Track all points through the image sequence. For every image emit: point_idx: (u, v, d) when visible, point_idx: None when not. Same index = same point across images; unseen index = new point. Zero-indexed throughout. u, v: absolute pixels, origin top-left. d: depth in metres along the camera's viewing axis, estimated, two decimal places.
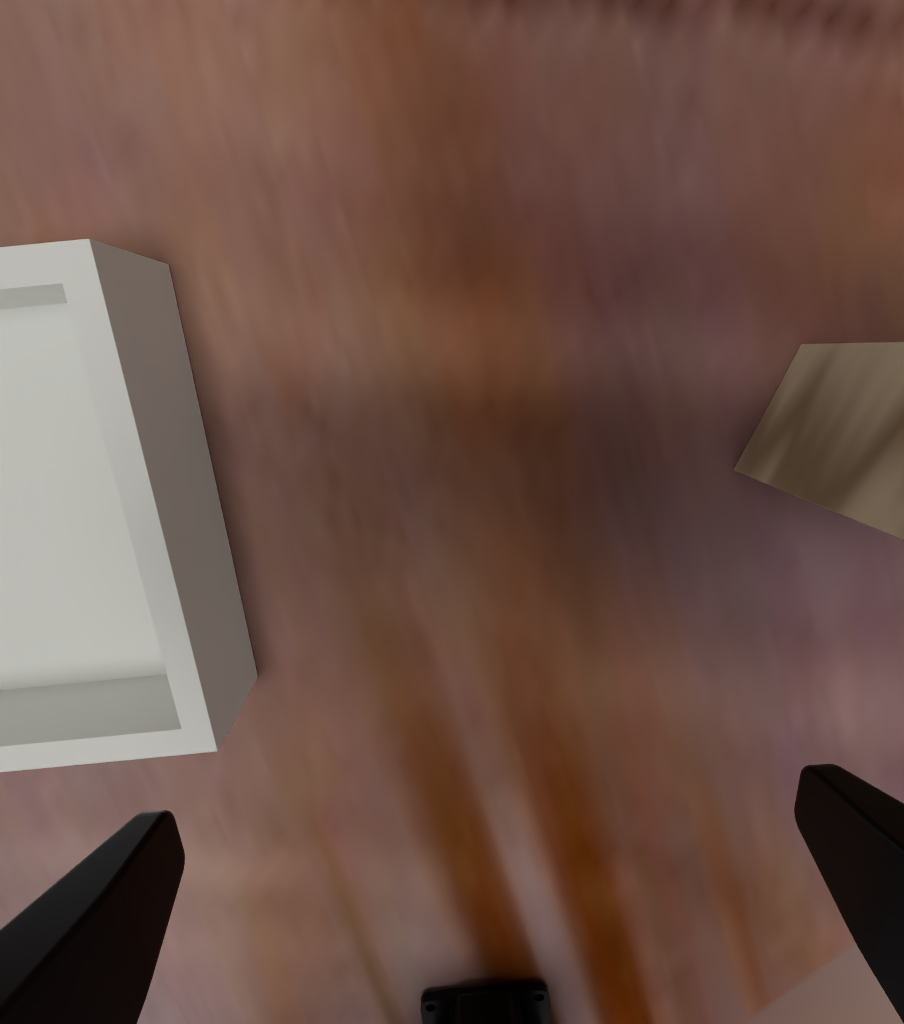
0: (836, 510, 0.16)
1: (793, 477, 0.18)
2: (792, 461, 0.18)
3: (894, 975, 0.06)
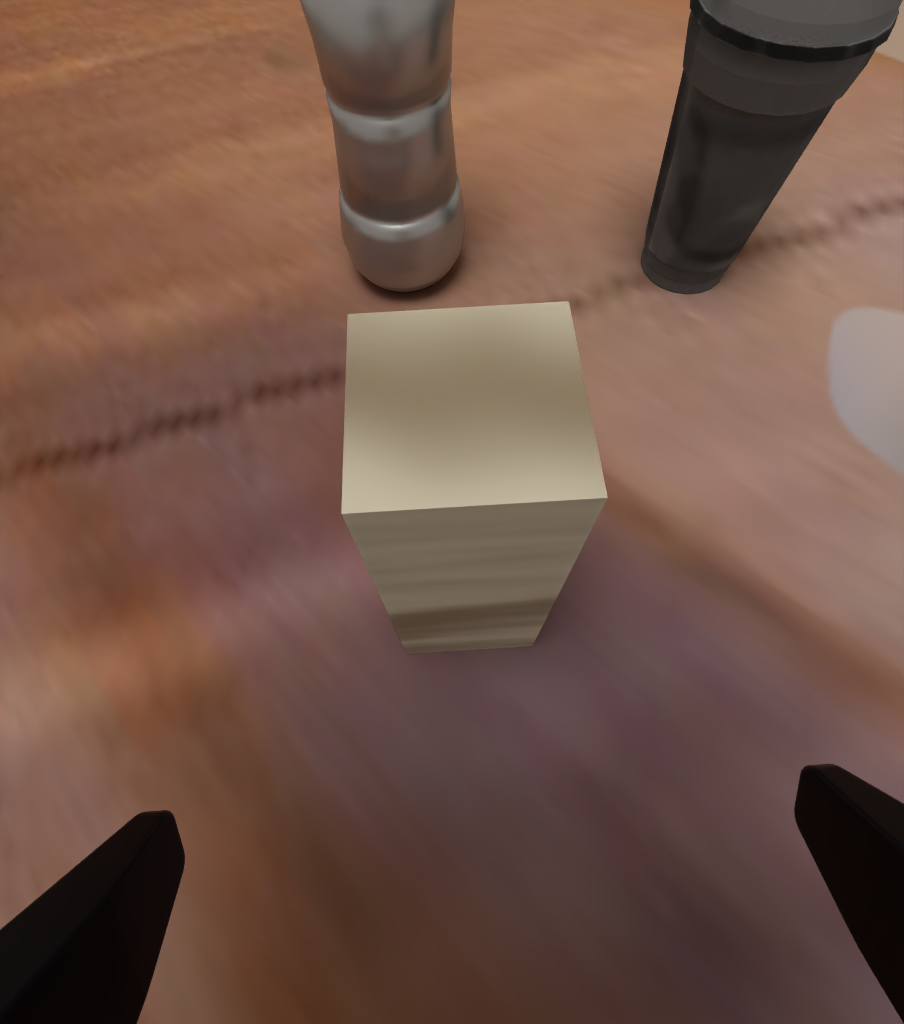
0: (388, 614, 0.17)
1: None
2: None
3: (894, 975, 0.06)
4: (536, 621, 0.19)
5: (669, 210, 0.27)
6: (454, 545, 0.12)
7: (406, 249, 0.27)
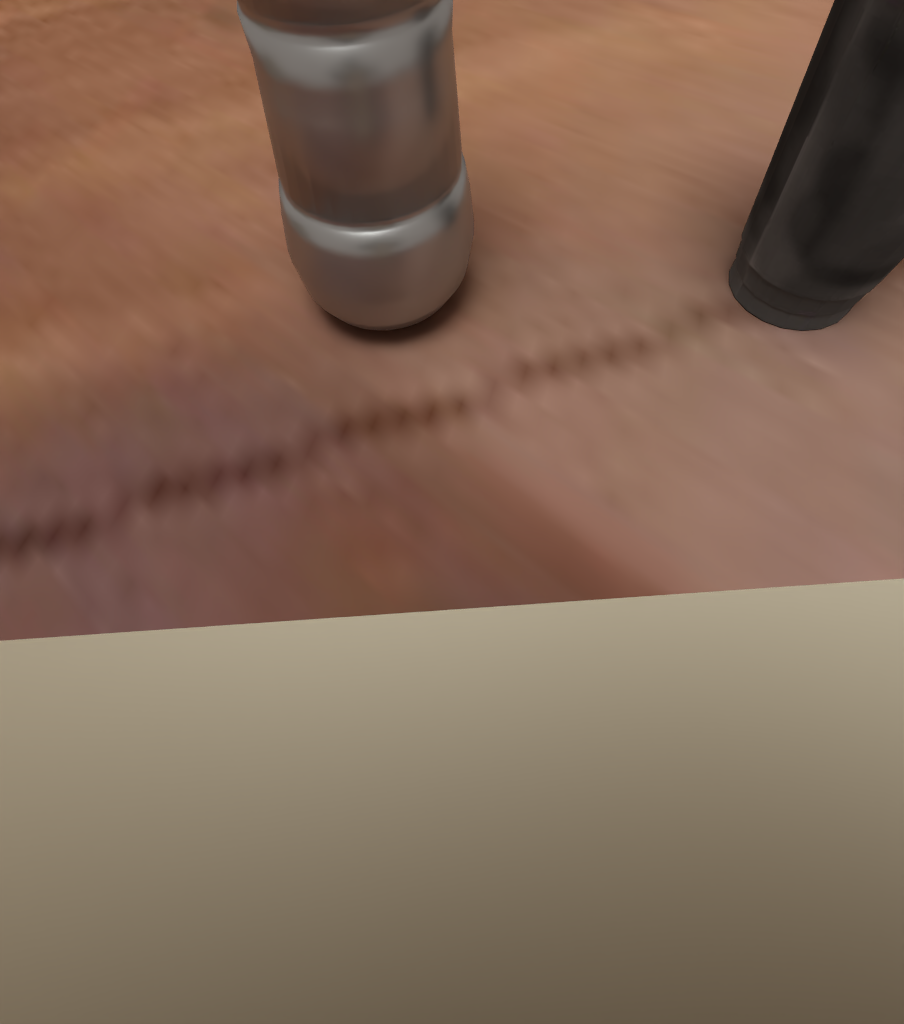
0: None
1: None
2: None
3: None
4: None
5: (798, 205, 0.17)
6: None
7: (383, 268, 0.17)
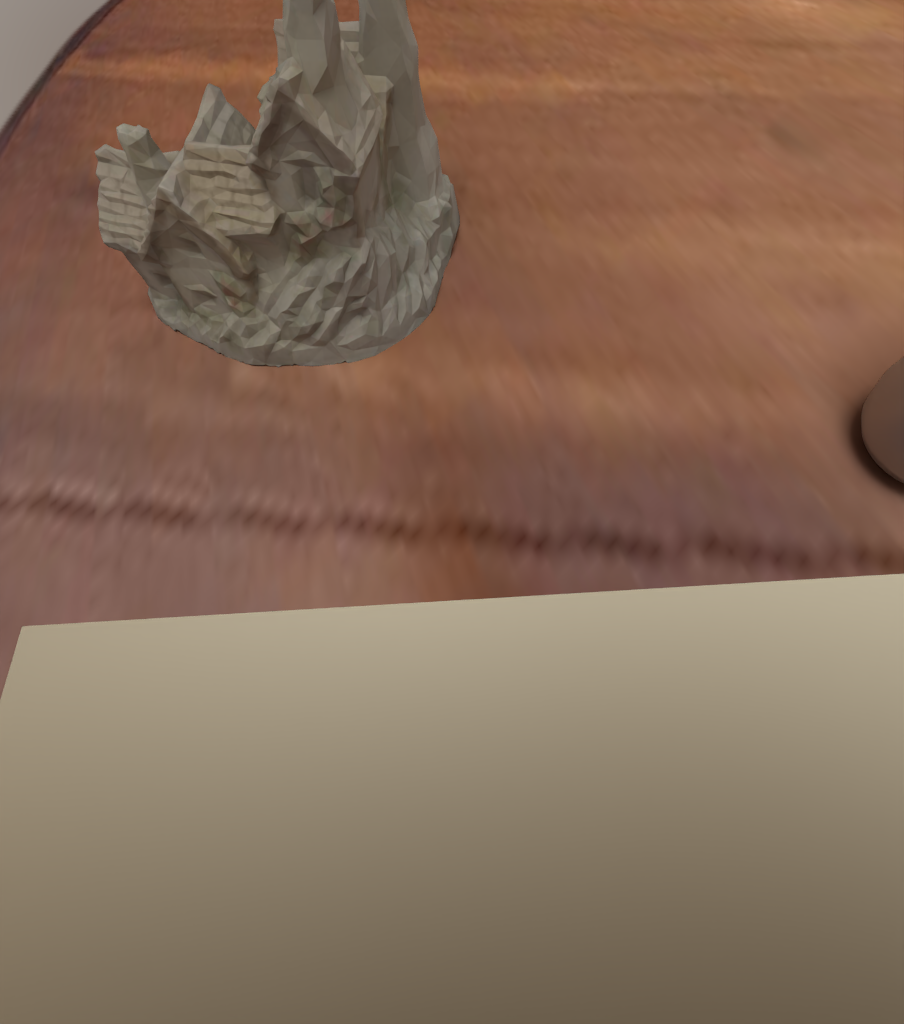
0: None
1: None
2: None
3: None
4: None
5: None
6: None
7: None
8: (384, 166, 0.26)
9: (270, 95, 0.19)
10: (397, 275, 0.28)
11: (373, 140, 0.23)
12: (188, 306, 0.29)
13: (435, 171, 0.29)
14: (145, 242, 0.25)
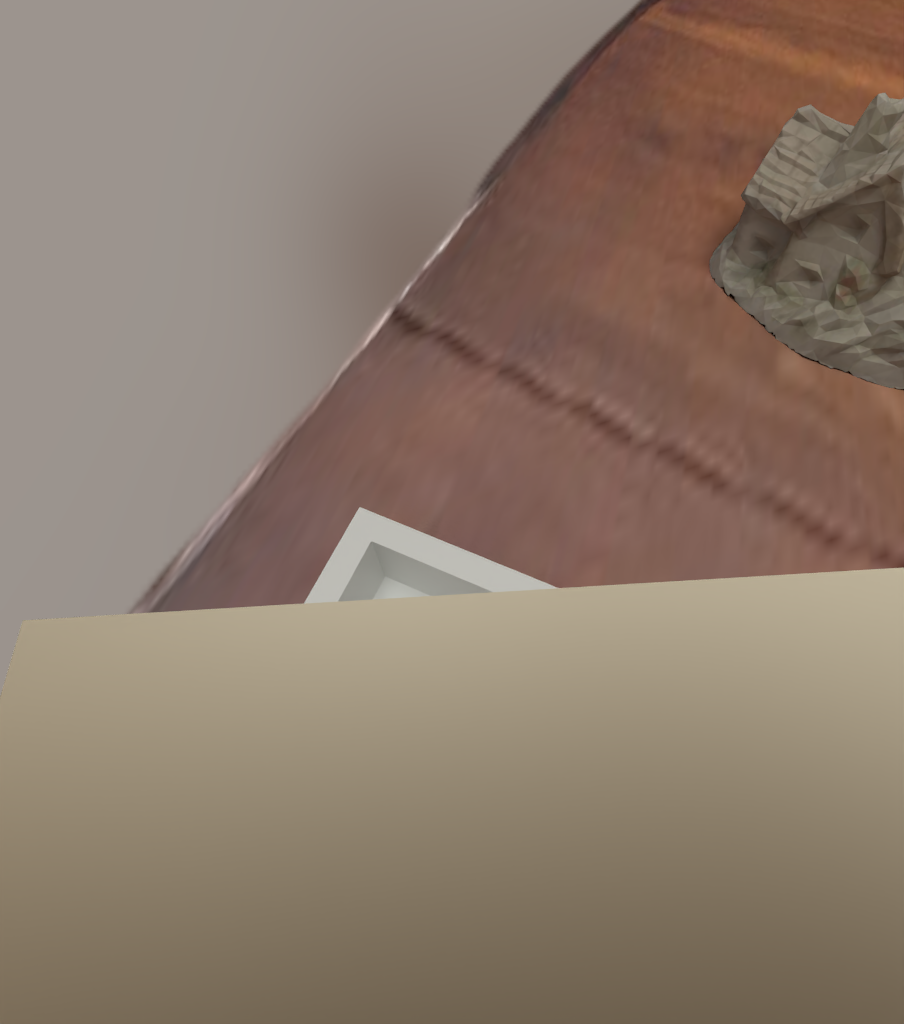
0: None
1: None
2: None
3: None
4: None
5: None
6: None
7: None
8: None
9: None
10: None
11: None
12: (768, 278, 0.29)
13: None
14: (814, 209, 0.25)
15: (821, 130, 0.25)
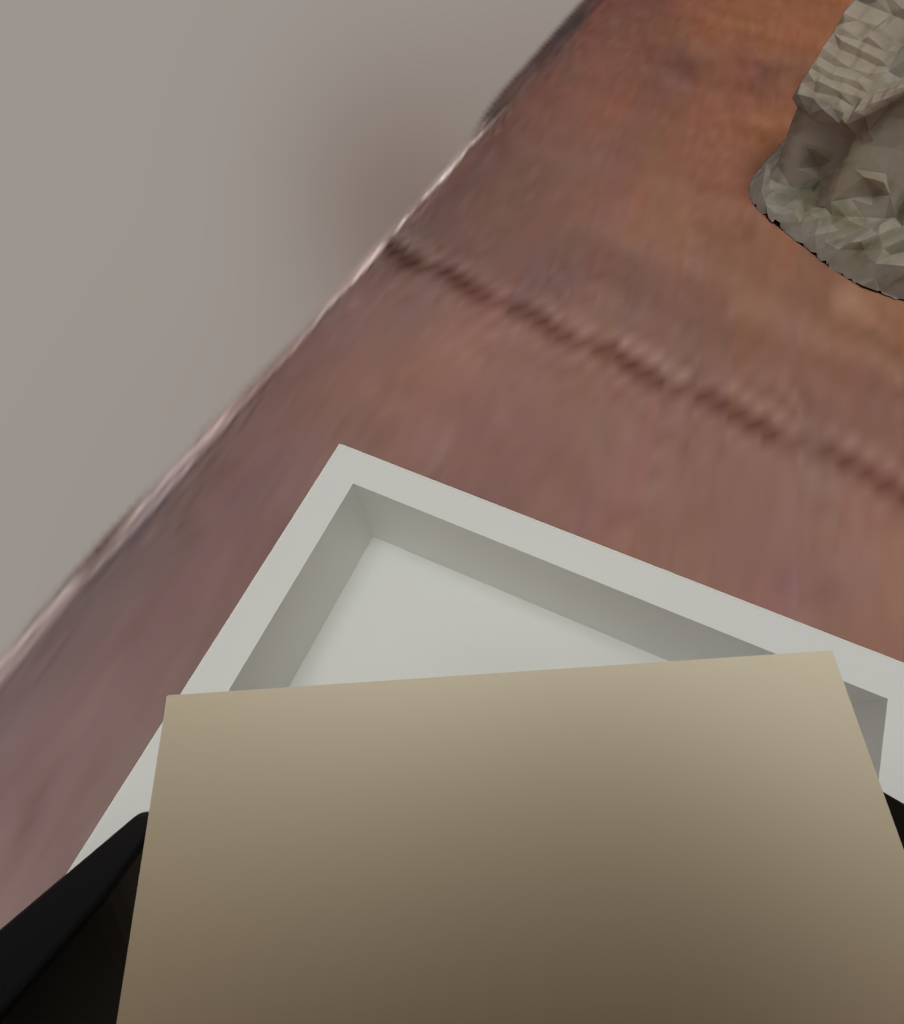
0: None
1: None
2: None
3: None
4: None
5: None
6: None
7: None
8: None
9: None
10: None
11: None
12: (820, 198, 0.25)
13: None
14: (885, 100, 0.21)
15: (891, 10, 0.21)
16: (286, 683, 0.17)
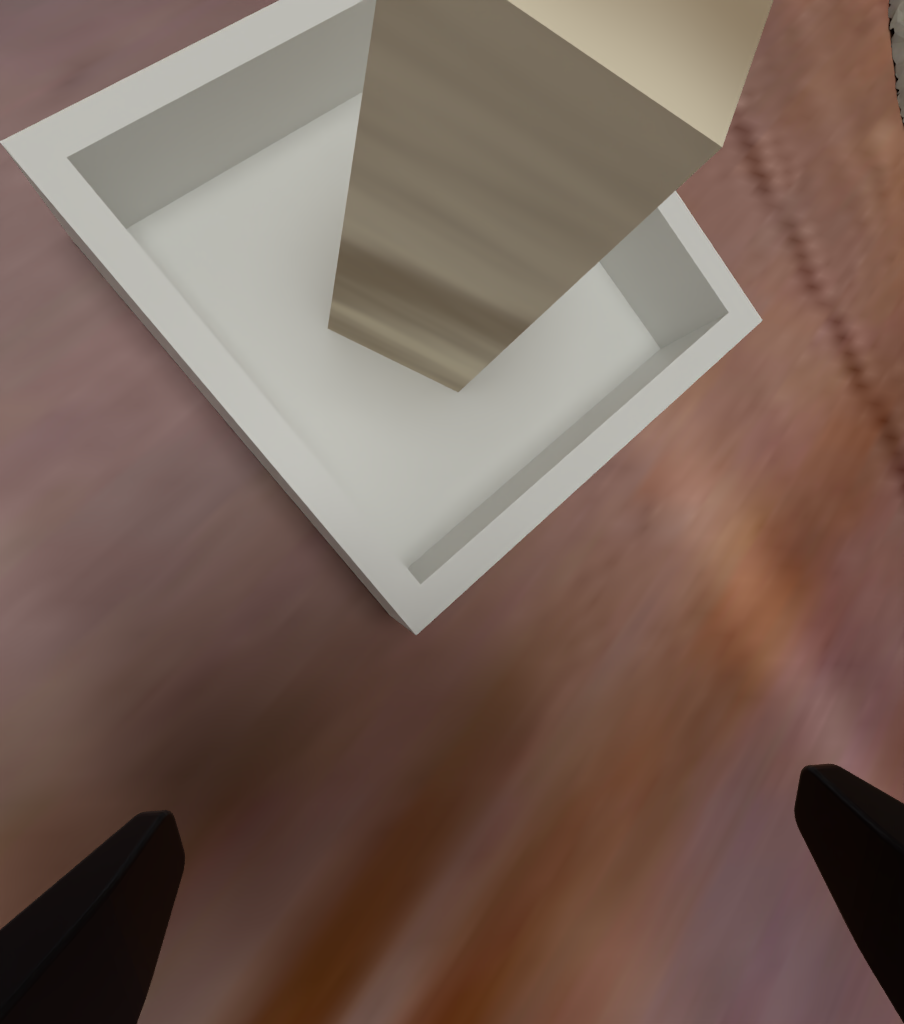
0: (341, 239, 0.14)
1: None
2: None
3: (894, 975, 0.06)
4: (488, 352, 0.16)
5: None
6: (489, 131, 0.09)
7: None
8: None
9: None
10: None
11: None
12: None
13: None
14: None
15: None
16: (333, 101, 0.19)
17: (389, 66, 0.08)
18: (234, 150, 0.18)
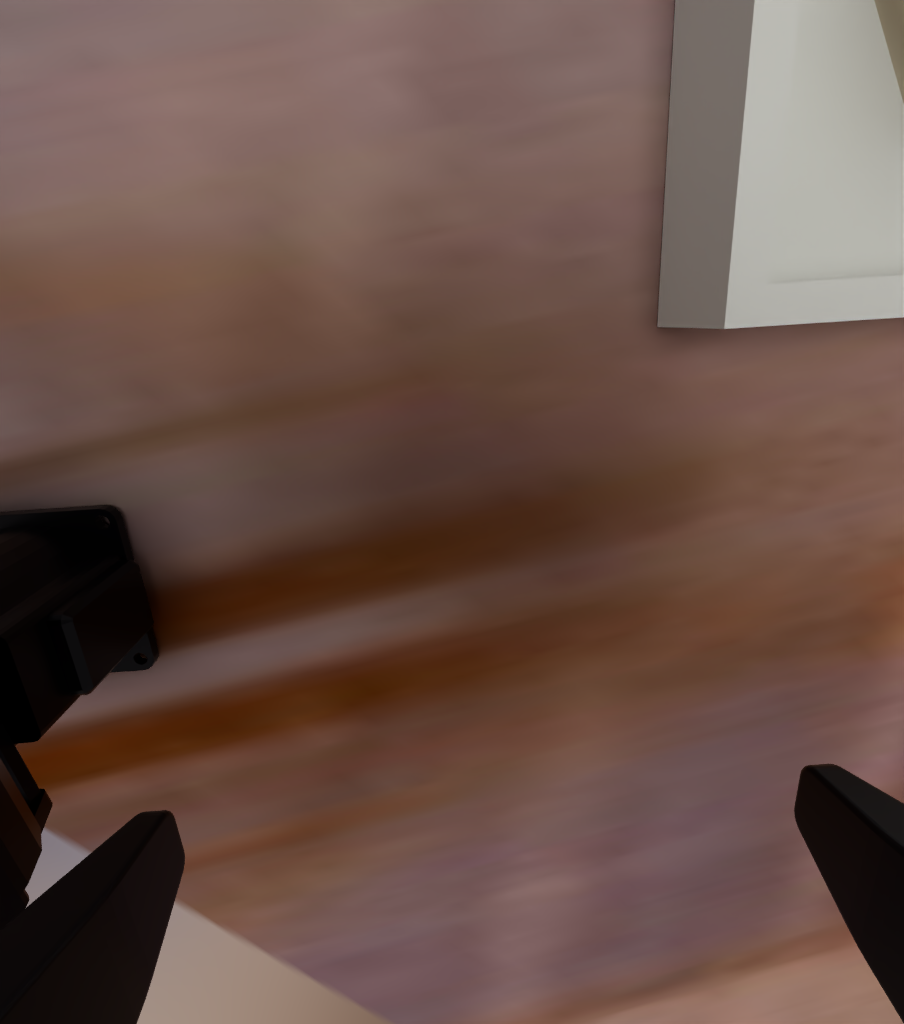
0: None
1: None
2: None
3: (894, 975, 0.06)
4: None
5: None
6: None
7: None
8: None
9: None
10: None
11: None
12: None
13: None
14: None
15: None
16: None
17: None
18: None
